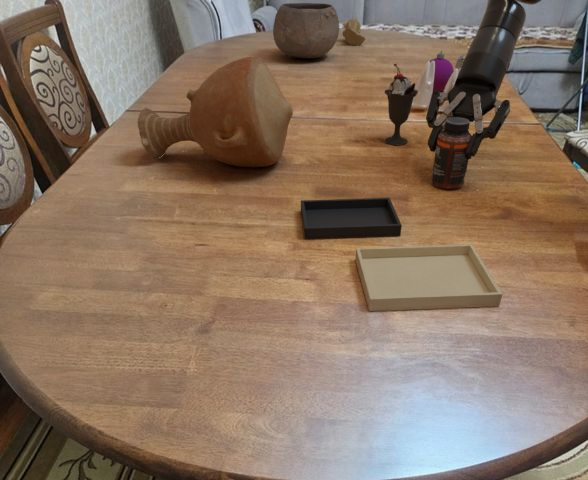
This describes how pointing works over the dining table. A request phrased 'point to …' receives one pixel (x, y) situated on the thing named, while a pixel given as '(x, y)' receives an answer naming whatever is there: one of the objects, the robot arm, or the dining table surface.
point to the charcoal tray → (349, 218)
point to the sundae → (399, 105)
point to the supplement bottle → (451, 154)
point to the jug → (227, 117)
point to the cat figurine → (353, 32)
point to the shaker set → (430, 87)
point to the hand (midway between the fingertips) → (449, 152)
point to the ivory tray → (425, 278)
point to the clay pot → (306, 29)
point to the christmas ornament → (441, 72)
